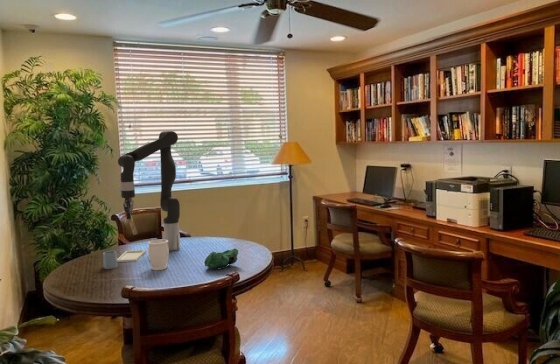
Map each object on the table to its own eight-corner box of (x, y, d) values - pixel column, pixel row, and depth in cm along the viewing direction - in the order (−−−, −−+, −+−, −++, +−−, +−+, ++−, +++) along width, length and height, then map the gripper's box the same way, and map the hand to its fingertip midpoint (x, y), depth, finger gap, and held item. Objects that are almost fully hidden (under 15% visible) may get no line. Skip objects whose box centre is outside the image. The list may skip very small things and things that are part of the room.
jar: (151, 272, 226) (149, 244, 224) (147, 267, 235) (146, 240, 233) (171, 269, 231) (170, 241, 229) (167, 264, 240) (165, 238, 238)
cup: (118, 266, 238) (117, 250, 237) (115, 269, 232) (114, 253, 231) (106, 266, 238) (105, 251, 237) (102, 270, 231) (101, 254, 230)
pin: (138, 233, 255) (135, 207, 254) (137, 234, 253) (134, 207, 251) (128, 234, 255) (125, 207, 253) (126, 235, 252) (124, 208, 251)
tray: (145, 253, 266) (145, 249, 266) (136, 262, 245) (136, 259, 244) (126, 253, 265) (126, 250, 265) (116, 263, 244) (115, 260, 244)
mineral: (226, 261, 243) (226, 244, 242) (244, 266, 232) (243, 248, 231) (199, 268, 231) (198, 250, 230) (216, 274, 219) (216, 255, 218)
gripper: (131, 190, 245) (132, 220, 246) (137, 188, 258) (138, 216, 260) (117, 191, 244) (119, 221, 246) (124, 188, 258) (126, 216, 259)
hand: (129, 218), depth 253 cm, fingers closed on pin, 2 cm apart
